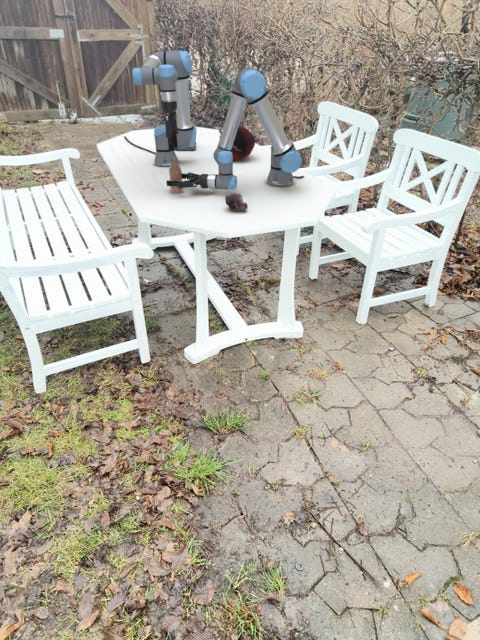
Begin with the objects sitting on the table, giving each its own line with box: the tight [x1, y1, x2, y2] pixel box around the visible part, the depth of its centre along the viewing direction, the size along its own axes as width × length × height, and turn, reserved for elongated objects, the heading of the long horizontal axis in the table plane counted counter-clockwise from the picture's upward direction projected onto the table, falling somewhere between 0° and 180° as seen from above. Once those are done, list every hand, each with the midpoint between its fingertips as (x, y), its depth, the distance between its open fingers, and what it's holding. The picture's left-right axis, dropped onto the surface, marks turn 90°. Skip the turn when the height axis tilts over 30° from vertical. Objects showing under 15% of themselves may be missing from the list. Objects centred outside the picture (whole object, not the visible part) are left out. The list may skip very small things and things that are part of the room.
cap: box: [170, 156, 179, 163], centre depth 239 cm, size 4×4×2 cm
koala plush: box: [174, 142, 197, 151], centre depth 321 cm, size 17×18×20 cm
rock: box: [224, 192, 249, 212], centre depth 223 cm, size 12×9×10 cm
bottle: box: [168, 162, 184, 195], centre depth 243 cm, size 7×7×18 cm
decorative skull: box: [218, 125, 256, 161], centre depth 298 cm, size 21×24×25 cm
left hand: (173, 148), depth 236 cm, fingers open, 6 cm apart
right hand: (170, 179), depth 245 cm, fingers open, 13 cm apart
